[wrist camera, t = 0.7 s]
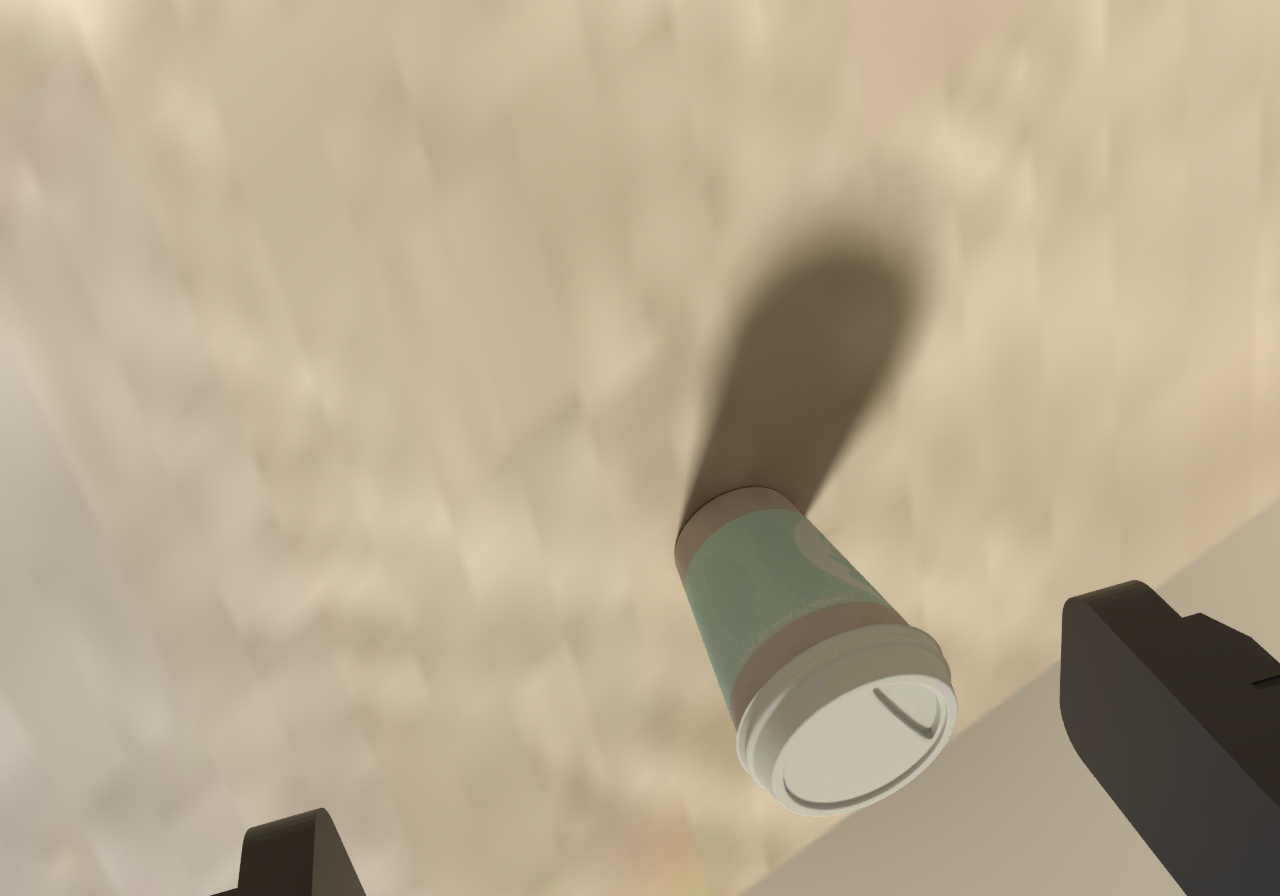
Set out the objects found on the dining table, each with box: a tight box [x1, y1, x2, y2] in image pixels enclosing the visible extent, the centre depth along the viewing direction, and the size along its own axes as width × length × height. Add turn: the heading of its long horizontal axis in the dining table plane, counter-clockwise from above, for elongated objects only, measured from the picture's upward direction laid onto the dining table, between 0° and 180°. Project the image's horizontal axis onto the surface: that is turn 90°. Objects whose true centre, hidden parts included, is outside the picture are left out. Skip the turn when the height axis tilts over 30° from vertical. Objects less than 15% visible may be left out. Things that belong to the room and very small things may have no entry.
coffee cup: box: [675, 487, 958, 816], centre depth 45 cm, size 9×9×12 cm
